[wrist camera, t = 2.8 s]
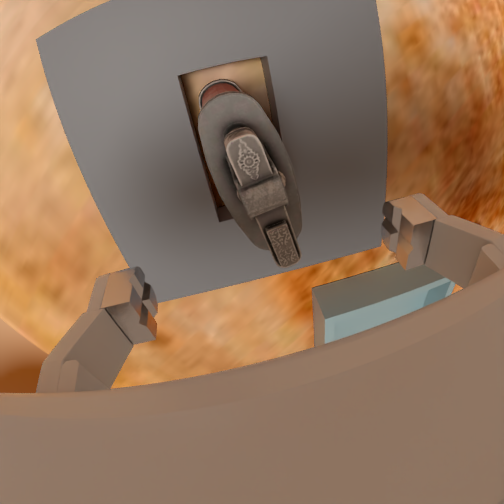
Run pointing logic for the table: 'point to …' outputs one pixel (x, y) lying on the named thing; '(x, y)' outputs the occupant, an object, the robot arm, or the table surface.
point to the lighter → (251, 169)
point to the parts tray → (373, 299)
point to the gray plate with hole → (185, 139)
